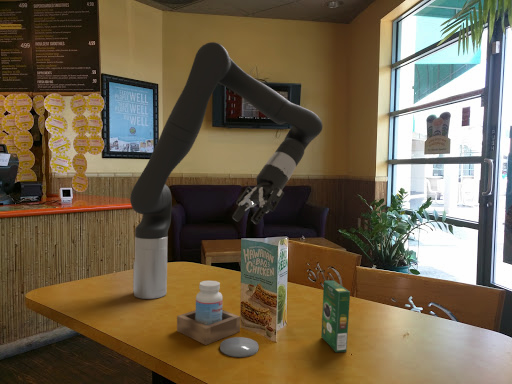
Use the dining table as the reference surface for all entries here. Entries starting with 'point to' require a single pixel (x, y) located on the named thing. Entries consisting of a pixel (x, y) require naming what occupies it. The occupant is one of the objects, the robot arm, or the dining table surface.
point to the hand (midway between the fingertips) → (244, 221)
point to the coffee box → (335, 315)
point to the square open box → (208, 327)
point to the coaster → (239, 347)
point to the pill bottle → (209, 303)
